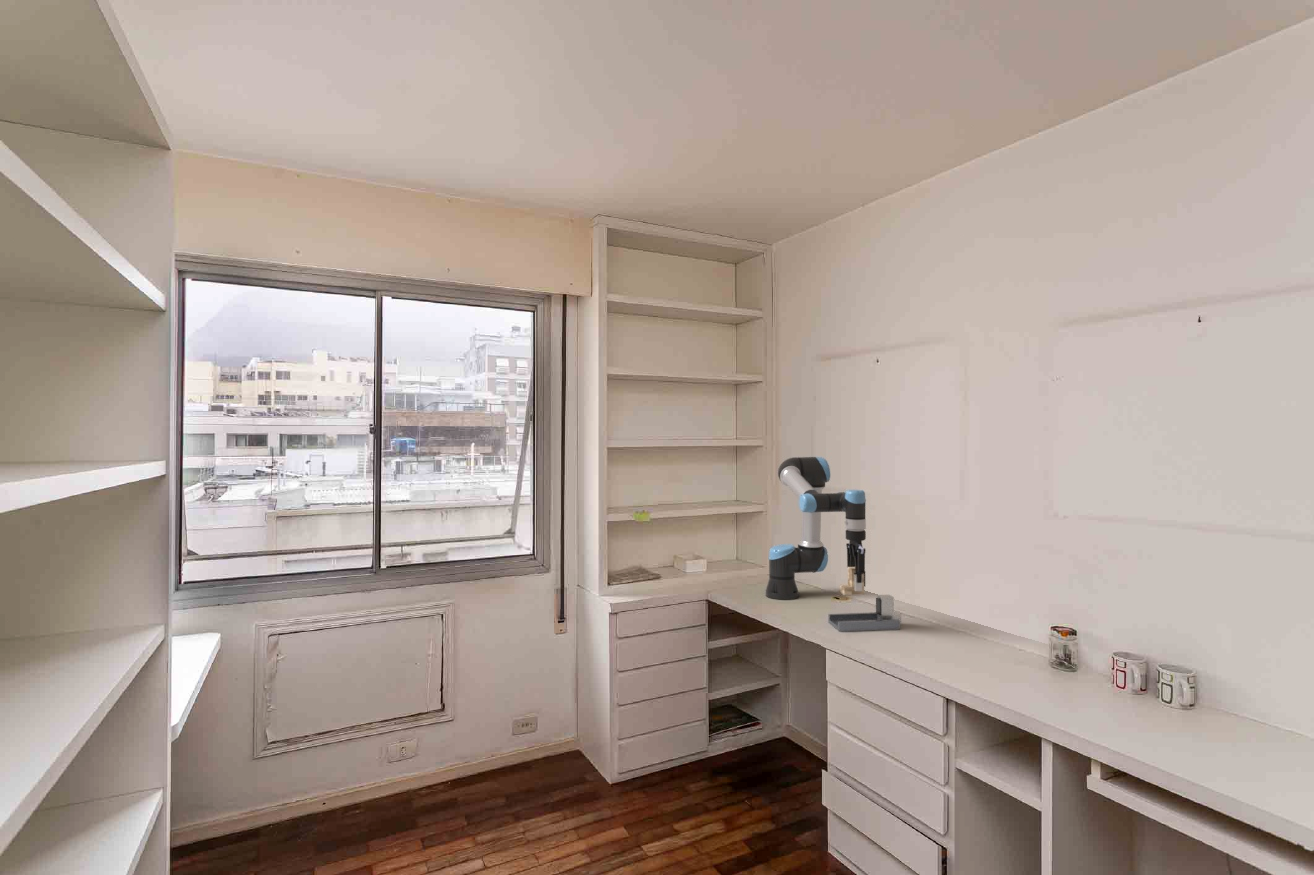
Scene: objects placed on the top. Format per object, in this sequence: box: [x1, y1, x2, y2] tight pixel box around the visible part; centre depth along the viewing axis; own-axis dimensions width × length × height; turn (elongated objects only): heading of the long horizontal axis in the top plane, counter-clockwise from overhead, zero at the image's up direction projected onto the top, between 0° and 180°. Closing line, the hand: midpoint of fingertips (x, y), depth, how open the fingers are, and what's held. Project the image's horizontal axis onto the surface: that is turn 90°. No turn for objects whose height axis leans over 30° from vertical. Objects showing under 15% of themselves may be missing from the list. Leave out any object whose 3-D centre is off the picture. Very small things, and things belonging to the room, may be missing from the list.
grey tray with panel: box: [827, 594, 902, 633], centre depth 262 cm, size 12×26×12 cm, turn 95°
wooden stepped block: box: [839, 567, 866, 596], centre depth 262 cm, size 4×9×10 cm, turn 95°
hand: (856, 589), depth 262 cm, fingers closed on wooden stepped block, 4 cm apart
